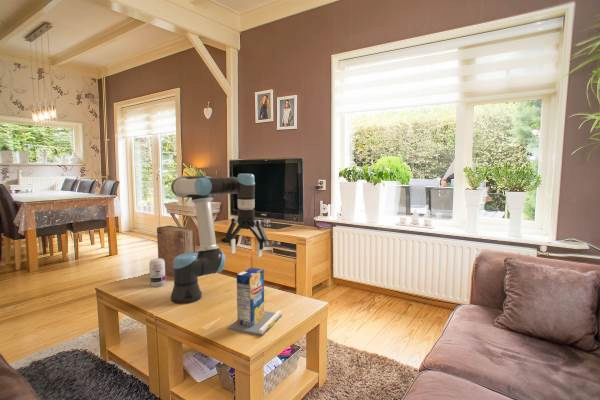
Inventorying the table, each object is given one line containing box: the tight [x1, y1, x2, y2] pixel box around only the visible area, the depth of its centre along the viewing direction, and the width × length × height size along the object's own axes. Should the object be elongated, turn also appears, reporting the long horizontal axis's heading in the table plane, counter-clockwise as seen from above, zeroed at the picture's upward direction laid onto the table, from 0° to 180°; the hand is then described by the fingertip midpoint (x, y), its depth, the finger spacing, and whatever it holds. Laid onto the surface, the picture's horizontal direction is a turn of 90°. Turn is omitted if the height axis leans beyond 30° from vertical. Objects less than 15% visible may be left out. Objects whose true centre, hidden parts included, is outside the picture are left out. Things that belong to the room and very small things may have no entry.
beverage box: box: [236, 267, 265, 327], centre depth 147 cm, size 7×11×22 cm, turn 155°
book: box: [156, 225, 197, 278], centre depth 214 cm, size 25×9×30 cm, turn 58°
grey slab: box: [227, 309, 283, 337], centre depth 148 cm, size 16×20×2 cm
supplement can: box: [148, 257, 166, 288], centre depth 195 cm, size 8×8×15 cm
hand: (246, 254), depth 152 cm, fingers open, 13 cm apart
